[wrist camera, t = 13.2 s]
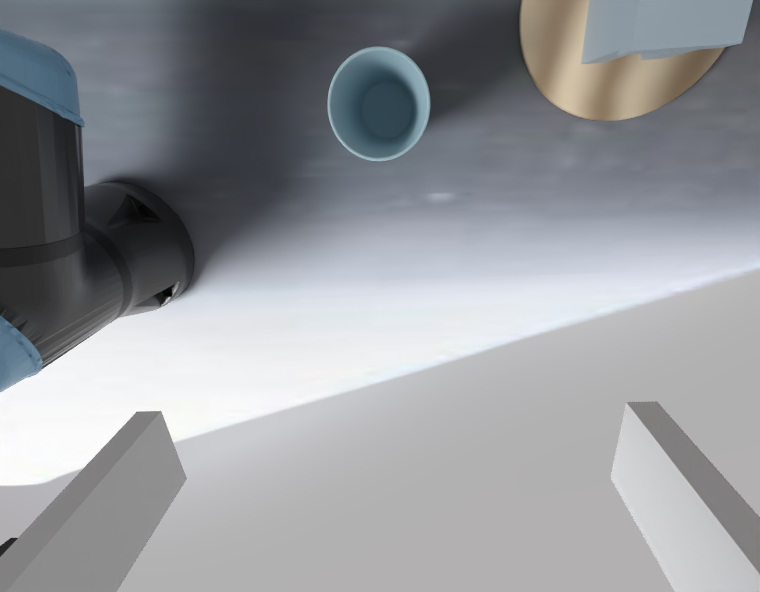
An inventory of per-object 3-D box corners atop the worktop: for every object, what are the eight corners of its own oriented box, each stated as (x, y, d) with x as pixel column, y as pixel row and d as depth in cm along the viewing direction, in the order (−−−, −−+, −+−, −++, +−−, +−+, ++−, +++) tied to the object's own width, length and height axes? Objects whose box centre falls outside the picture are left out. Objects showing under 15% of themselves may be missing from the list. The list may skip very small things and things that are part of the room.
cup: (417, 55, 37) (418, 31, 27) (433, 141, 39) (439, 147, 30) (340, 78, 38) (314, 63, 28) (361, 160, 41) (344, 171, 31)
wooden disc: (511, 126, 38) (513, 126, 37) (529, -121, 31) (532, -129, 30) (710, 115, 36) (717, 114, 36) (777, -150, 29) (789, -159, 28)
